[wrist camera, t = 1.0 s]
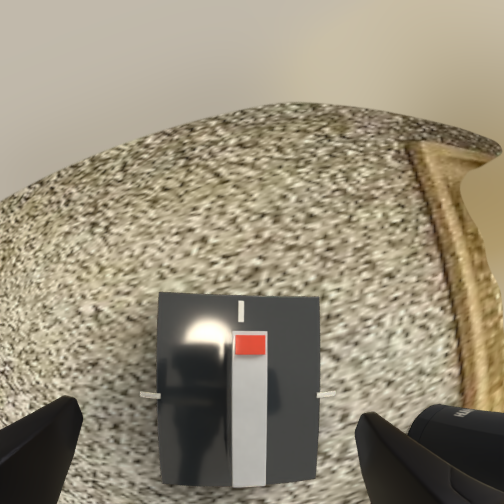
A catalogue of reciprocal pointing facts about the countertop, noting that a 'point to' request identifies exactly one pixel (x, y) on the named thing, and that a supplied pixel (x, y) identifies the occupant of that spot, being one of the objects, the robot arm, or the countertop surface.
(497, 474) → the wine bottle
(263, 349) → the knob
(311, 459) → the block
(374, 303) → the countertop surface
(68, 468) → the robot arm
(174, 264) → the countertop surface
